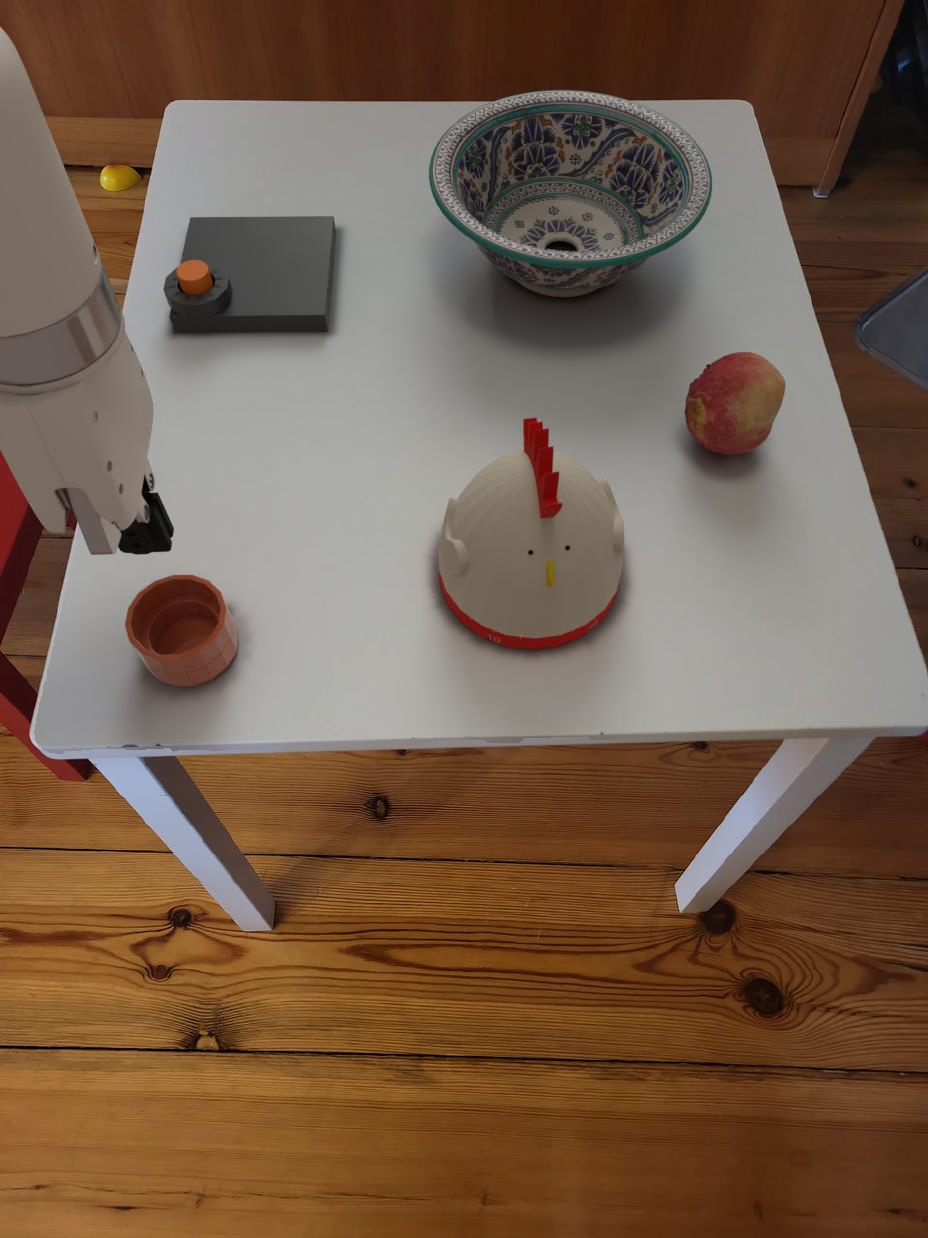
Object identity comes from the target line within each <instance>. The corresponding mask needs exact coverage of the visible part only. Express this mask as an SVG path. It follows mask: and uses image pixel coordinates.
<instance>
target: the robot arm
mask: <svg viewBox="0 0 928 1238" xmlns="http://www.w3.org/2000/svg"><path fill="white" fill-rule="evenodd" d="M56 145H57V144H56V143H55V141H54V138H53V135H52V132H51V130H50V127H49V125H48V122H47V121H46V117H45V114H44V112H43V110H42V108H41V105H40V102H39V99H38V97H37V94H36V92H35V90H34V87H33V85H32V82H31V79H30V77H29V74H28V72H27V69H26V67H25V65H24V63H23V61H22V59H21V57H20V54H19V52H18V50H17V48H16V45H15V44H14V43H13V41H12V39H11V38H10V36H9V35H8V34H7V32H6V31H5V30H4V29H3V28H2V27H1V26H0V452H1V454H2V456H3V458H4V460H5V462H6V464H7V465H8V468H9V470H10V471H11V474H12V475H13V477H14V479H15V481H16V483H17V485H18V487H19V489H20V490H21V492H22V494H23V495H24V497H25V499H26V501H27V502H28V504H29V505H30V507H31V509H32V511H33V513H34V514H35V516H36V517H37V519H38V520H39V522H40V523H41V525H42V526H43V527H44V528H45V529H46V530H47V531H48V532H49V533H51V534H66V529H67V524H68V519H69V514H70V511H71V508H72V511H73V514H74V516H75V519H76V521H77V524H78V526H79V529H80V532H81V534H82V536H83V539H84V542H85V544H86V547H87V549H88V552H89V554H90V555H91V556H107V555H110V556H111V555H116V553H117V551H118V549H119V551H120V552H122V553H124V554H131V555H140V556H141V555H149V554H151V553H168V552H171V551H172V546H173V540H172V538H173V537H174V534H175V533H174V532H175V527H174V525H173V522H172V521H171V519H170V516H169V514H168V512H167V510H166V508H165V505H164V503H163V500H162V498H161V496H160V494H159V492H154V490H155V487H156V481H155V475H154V472H153V469H152V466H151V464H150V461H149V459H148V456H149V449H150V444H151V436H152V431H153V423H154V400H153V396H152V392H151V389H150V386H149V383H148V380H147V377H146V374H145V372H144V369H143V367H142V364H141V362H140V359H139V358H138V355H137V352H136V351H135V349H134V347H133V344H132V343H131V340H130V338H129V336H128V334H127V331H126V323H125V322H126V320H125V316H124V313H123V310H122V309H121V306H120V303H119V301H118V297H117V296H116V293H115V290H114V288H113V285H112V283H111V280H110V278H109V276H108V272H107V270H106V268H105V266H104V262H103V261H102V259H101V255H100V253H99V251H98V248H97V246H96V243H95V241H94V238H93V236H92V232H91V230H90V228H89V226H88V223H87V220H86V219H85V215H84V213H83V211H82V208H81V205H80V203H79V201H78V198H77V196H76V193H75V191H74V188H73V186H72V184H71V181H70V178H69V175H68V173H67V171H66V169H65V168H66V167H65V166H64V163H63V160H62V158H61V155H60V153H59V150H58V148H57V146H56Z"/></svg>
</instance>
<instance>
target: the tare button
mask: <svg viewBox="0 0 928 1238" xmlns="http://www.w3.org/2000/svg"><path fill="white" fill-rule="evenodd" d="M180 264H181V263H180ZM180 264H179V266H177V267H178V268H177V267H176V268H177V276H178V280H179V283H180V286H181V289H182V291H183V292H184V293H185V294H186V295H189V296H200V295H202V294H205V293H208V292H209V291H210V290H211V289H212V286H213V282H212V279H211V275H210V272H209V268H208V266H207V264H206V263H204V262H203V261H200V260H189V261H186V262H184V263H182V264H181V265H180Z"/></svg>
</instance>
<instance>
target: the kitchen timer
mask: <svg viewBox="0 0 928 1238" xmlns="http://www.w3.org/2000/svg"><path fill="white" fill-rule="evenodd" d="M522 423H523V425H522V427H523V428H522V431H523V449H518V450H515V451H512V452H510V453H507V454H504V455H501V456H499V457H497V458H496V459H494V460H493V461H492V462H490V463H489V464H487V465H486V466H485V467H482V468H481V470H479V471H478V472H477V473H475V474H474V476H473V478H472V479H471V480H470V481H469V483H468V484H467V485H466V486H465V488H464V489H462V491H461V493H460V494H459V496H458V497H457V499H456V498H454V497H451V496H450V497H449V498H448V502H447V506H446V510H445V514H444V518H443V523H442V527H441V534H440V541H439V545H438V582H439V585H440V588H441V591H442V594H443V596H444V599H445V602H446V604H447V605H448V607H449V609H451V611H452V612H453V613H454V614H455V616H456V617H457V619H458V620H459V621H460V622H461V623H462V624H463V625H464V626H466V627H467V628H469V629H470V630H471V631H473V632H474V633H476V634H477V635H478V636H480V637H481V638H484V639H487V640H489V641H490V642H493V643H496V644H499V645H500V646H501V645H502V646H504V647H509V648H517V649H525V650H540V649H541V650H542V649H546V648H555V647H556V648H557V647H561V646H563V645H565V644H568V643H570V642H572V641H575V640H577V639H580V638H582V637H584V636H585V635H586V634H588V633H589V632H590V631H591V630H593V628H595V627H596V626H597V625H599V624H600V623H601V622H602V621H603V620H604V618H605V616H606V615H607V613H608V612H609V610H610V609H611V608H612V605H614V603H615V599H616V596H617V593H618V588H619V584H620V581H621V575H622V571H623V564H624V562H623V554H625V521H624V519H623V517H622V515H621V512H620V509H619V506H618V504H617V501H616V498H615V494H614V493H613V490H612V488H611V485H610V484H609V482H608V481H607V479H604V478H603V479H601V480H600V481H597V479H596V478H595V477H594V476H593V475H592V474H591V473H590V472H589V470H588V469H587V468H586V467H585V466H584V465H582V464H581V463H579V462H577V461H576V460H575V459H573V458H572V457H570V456H569V455H567V454H564V453H561V452H558V451H555V450H554V446H553V445H552V446H549V441H550V440H549V439H550V429H549V427H548V428H544V423H543V421H538V417H528V418H523V421H522Z"/></svg>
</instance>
